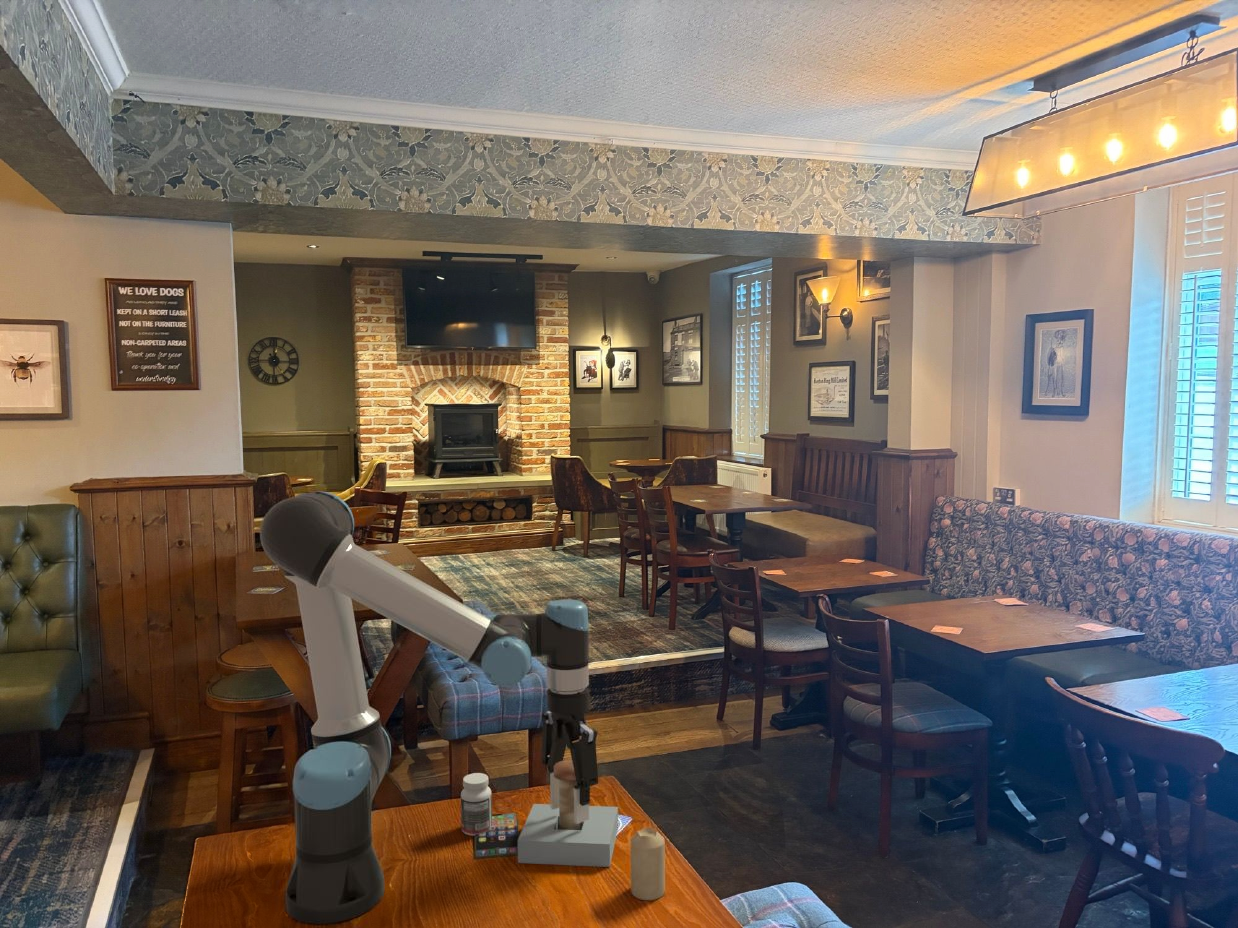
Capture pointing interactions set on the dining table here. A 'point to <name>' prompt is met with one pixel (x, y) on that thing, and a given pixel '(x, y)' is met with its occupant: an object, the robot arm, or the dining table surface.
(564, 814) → the peg
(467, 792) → the pill bottle
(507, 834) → the smartphone
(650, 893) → the candle
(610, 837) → the block
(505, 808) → the dining table surface
